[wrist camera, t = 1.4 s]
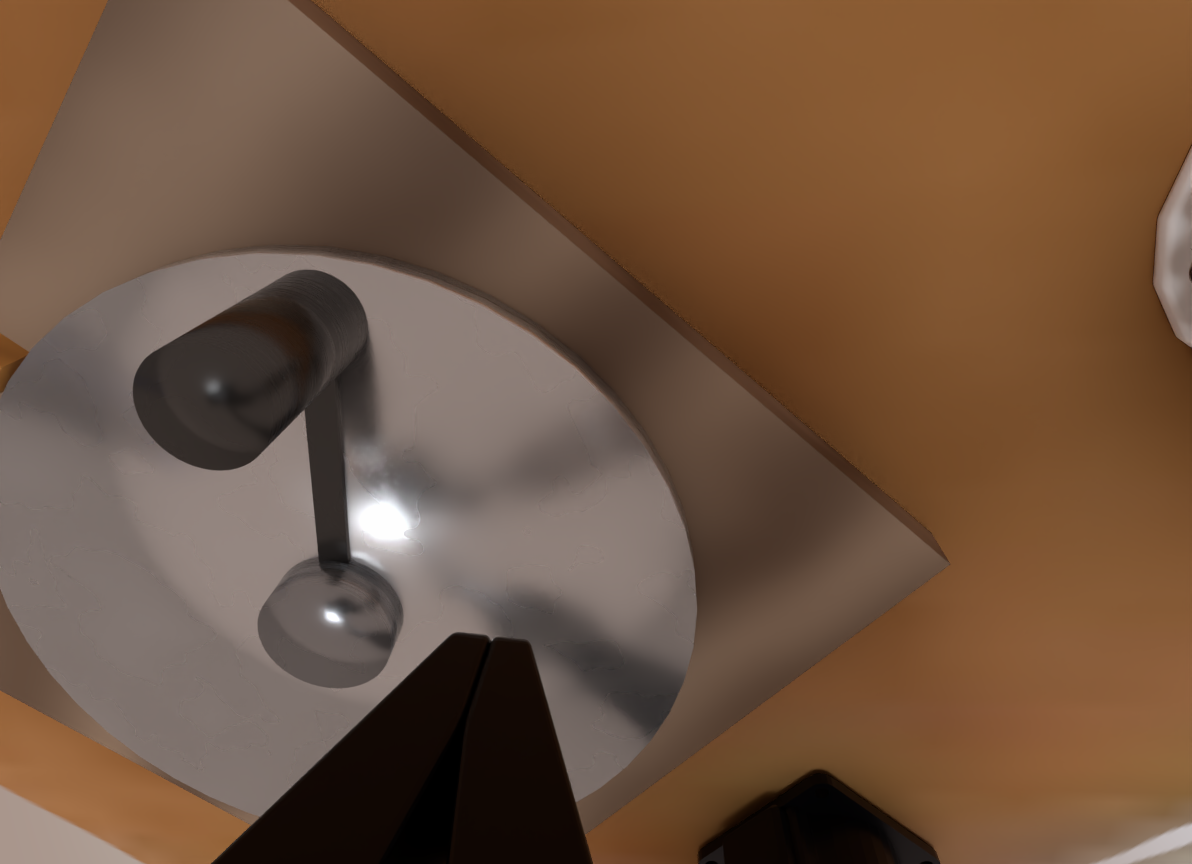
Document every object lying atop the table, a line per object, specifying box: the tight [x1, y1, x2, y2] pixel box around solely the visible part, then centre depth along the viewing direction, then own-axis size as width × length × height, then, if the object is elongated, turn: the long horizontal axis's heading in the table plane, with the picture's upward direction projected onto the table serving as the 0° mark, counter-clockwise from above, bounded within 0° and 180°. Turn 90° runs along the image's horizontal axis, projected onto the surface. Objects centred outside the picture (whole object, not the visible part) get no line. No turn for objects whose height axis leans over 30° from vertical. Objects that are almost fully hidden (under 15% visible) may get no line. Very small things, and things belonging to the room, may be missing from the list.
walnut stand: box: [0, 0, 950, 834], centre depth 22 cm, size 24×24×2 cm
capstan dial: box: [0, 245, 697, 817], centre depth 19 cm, size 20×20×6 cm
